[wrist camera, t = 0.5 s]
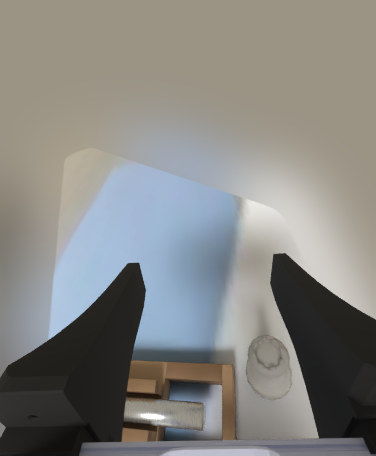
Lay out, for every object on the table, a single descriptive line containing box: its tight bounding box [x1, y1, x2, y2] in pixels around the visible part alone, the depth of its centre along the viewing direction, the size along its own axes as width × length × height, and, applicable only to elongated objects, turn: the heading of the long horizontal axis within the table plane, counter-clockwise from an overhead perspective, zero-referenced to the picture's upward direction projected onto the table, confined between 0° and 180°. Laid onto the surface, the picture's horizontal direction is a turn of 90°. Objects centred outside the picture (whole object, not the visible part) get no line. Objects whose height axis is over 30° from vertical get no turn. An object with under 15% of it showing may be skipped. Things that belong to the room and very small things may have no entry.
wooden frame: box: [122, 360, 236, 442], centre depth 24 cm, size 9×13×4 cm
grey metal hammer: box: [123, 396, 206, 431], centre depth 22 cm, size 3×14×5 cm, turn 85°
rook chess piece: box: [246, 336, 292, 400], centre depth 23 cm, size 4×4×8 cm
